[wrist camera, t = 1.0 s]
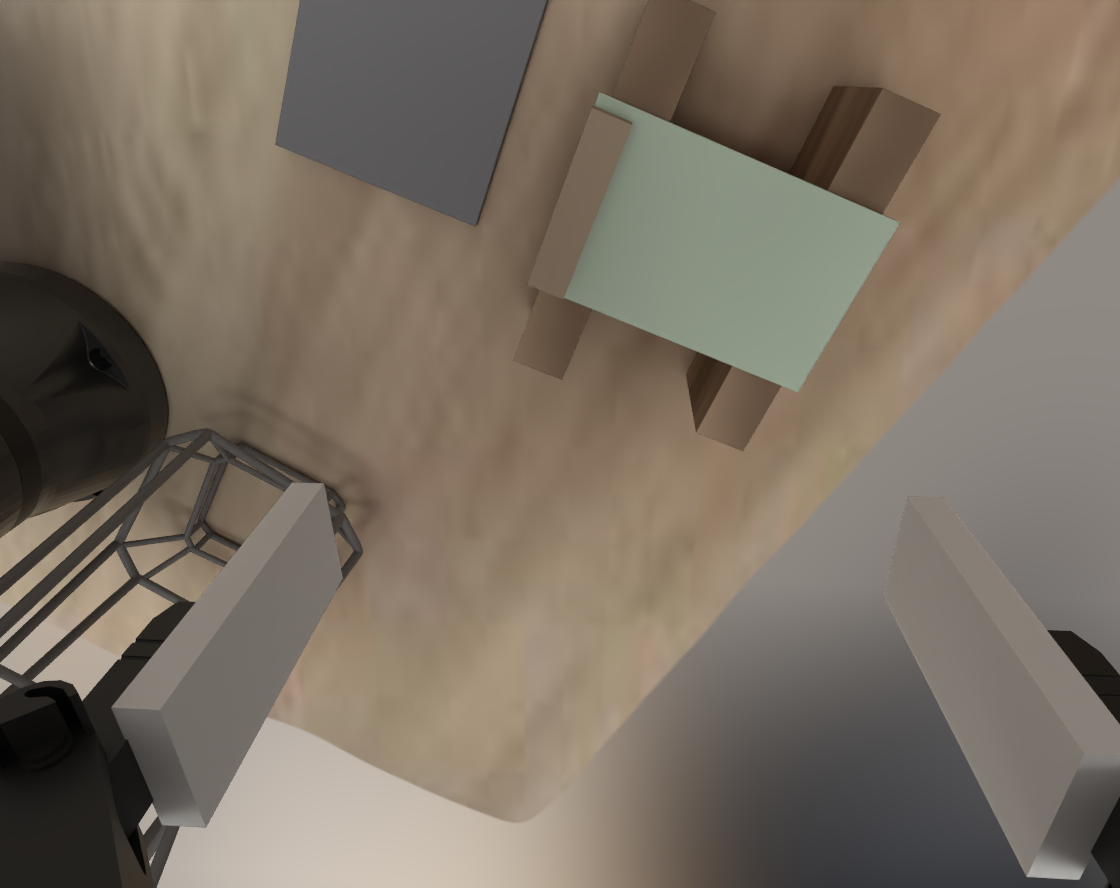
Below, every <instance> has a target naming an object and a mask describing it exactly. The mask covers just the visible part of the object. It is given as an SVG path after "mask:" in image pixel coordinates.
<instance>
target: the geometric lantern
mask: <svg viewBox="0 0 1120 888" xmlns="http://www.w3.org/2000/svg"><path fill="white" fill-rule="evenodd" d="M193 440H194V441H193ZM209 440H210V442H211V443H212V444H213V445H214V447H215V448H216V449H217V450H218V451H219V453H220V455H218V456H217V457H216V458H212V457H209V456H206V455H203V454H200V453H197V451H198V450H199V449H200V448H201V447H202V446H203V445H205V444H206V443H207V442H208V441H209ZM189 441H193V442H192V443H191V444H190V445H189V446H188V447H187V448H186V449H185V448H182V447H179V446H176V445H177V444H181V443H185V442H189ZM225 449H226V450H225ZM169 450H171V451H174V452H177V453H180V454H179V455H178V456H177V457H176V458H175V459H174V460H172V461H171V462H170V463H169V464H168V465H167V466H166V467H165V468H164V469H163V470H162V471H160V469H161V467H162V465H163V463H164V461H165V459H166V456H167V454H168V452H169ZM236 456H237V457H238V458H240V459H241V460H243V461H245V462H246V463H248V464H249V465H251V466H253V467H254V468H256V469H257V470H259V471H260V472H259V471H257V470H255V469H253V468H251V467H249V466H247V465H245V464H243V463H241V462H240V461H238V460H236V459H234V458H235V457H236ZM254 456H255V457H254ZM191 457H193V458H196V459H199V460H202V461H205V462H208V463H210V466H209V469H208V471H207V474H206V477H205V479H204V482H203V485H202V487H201V490H200V493H199V496H198V498H197V501H196V504H195V506H194V509H193V512H192V514H191V517H190V520H189V523H188V525H187V528H186V531H185V533H184V534H180V535H172V536H165V537H158V538H150V539H143V540H136V541H129V542H124V541H125V539H126V537H127V535H128V533H129V531H130V529H131V527H132V525H133V523H134V521H135V519H136V517H137V515H138V513H139V511H140V509H141V507H142V505H143V503H144V501H145V500H146V499H148V498H149V497H150V496H151V495H152V494H153V493H154V492H155V491H156V490H157V489H158V488H159V487H160V486H161V485H162V484H163V483H164V482H165V481H166V480H168V479H169V478H170V477H171V476H172V475H173V474H174V473H175V472H176V471H177V470H178V469H179V468H180V467H181V466H182V465H183V464H184V463H185V462H186V461H188V460H189V459H190V458H191ZM256 457H257V458H258V459H257V458H256ZM259 459H260V460H259ZM261 460H262V461H264V462H266V463H268V464H270V465H272V466H274V467H276V468H278V469H280V470H282V471H284V472H286V473H287V474H289V475H291V476H293V477H295V478H297V479H299V480H301V481H303V482H305V483H317V482H315V481H313V480H311V479H309V478H307V477H306V476H304V475H302V474H300V473H298V472H296V471H294V470H292V469H290V468H288V467H286V466H284V465H282V464H280V463H279V462H277V461H275V460H273V459H271V458H269V457H267V456H265V455H263V454H261V453H259V452H257V451H255V450H254V449H252V448H250V447H248V446H246V445H244V444H239V445H235V444H234V443H232V442H231V441H229V440H227V439H226V438H224V437H223V436H221V435H219V434H218V433H216V432H215V431H213V430H211V429H207V428H206V429H199V430H195V431H191V432H187V433H183V434H179V435H175V436H171V437H168V438H166V439H164V440H163V441H162V442H161V443H159V444H158V445H157V446H156V447H155V448H154V449H153V450H151V451H150V452H149V453H148V454H147V455H146V456H144V457H143V458H142V459H141V460H140V461H139V462H137V463H136V464H135V465H134V466H133V467H132V468H130V469H129V470H128V471H127V472H126V473H124V474H123V475H122V476H121V477H120V478H119V479H117V480H116V481H115V482H114V483H113V484H111V485H110V486H109V487H108V488H107V489H105V490H104V491H103V492H102V493H101V494H100V495H98V496H97V497H96V498H95V499H94V500H92V501H91V502H90V503H89V504H88V505H86V506H85V507H84V508H83V509H82V510H81V511H79V512H78V513H77V514H76V515H75V516H73V517H72V518H71V519H70V520H69V521H67V522H66V523H65V524H64V525H63V526H61V527H60V528H59V529H58V530H57V531H56V532H54V533H53V534H52V535H51V536H50V537H48V538H47V539H46V540H45V541H44V542H42V543H41V544H40V545H39V546H38V547H37V548H35V549H34V550H33V551H32V552H31V553H29V554H28V555H27V556H26V557H25V558H23V559H22V560H21V561H20V562H19V563H18V564H16V565H15V566H14V567H13V568H12V569H10V570H9V571H8V572H7V573H6V574H4V575H3V576H2V577H1V578H0V596H1V595H2V594H3V593H4V592H5V591H6V590H8V589H9V588H10V587H11V586H12V585H13V584H15V583H16V582H17V581H18V580H19V579H20V578H21V577H23V576H24V575H25V574H26V573H27V572H28V571H29V570H31V569H32V568H33V567H34V566H35V565H36V564H37V563H39V562H40V561H41V560H42V559H43V558H44V557H45V556H47V555H48V554H49V553H50V552H51V551H52V550H53V549H55V548H56V547H57V546H58V545H59V544H60V543H62V542H63V541H64V540H65V539H66V538H67V537H68V536H70V535H71V534H72V533H73V532H74V531H75V530H76V529H78V528H79V527H80V526H81V525H82V524H83V523H84V522H86V521H87V520H88V519H89V518H90V517H91V516H92V515H94V514H95V513H96V512H97V511H98V510H99V509H100V508H102V507H103V506H104V505H105V504H106V503H107V502H109V501H110V500H111V499H112V498H113V497H114V496H115V495H117V494H118V493H119V492H120V491H121V490H122V489H123V488H125V487H126V486H127V485H128V484H129V483H130V482H131V481H133V480H134V479H135V478H136V477H137V476H138V475H139V474H141V473H142V472H143V471H144V470H145V469H146V468H147V467H149V466H150V465H151V466H150V468H149V470H148V472H147V474H146V476H145V478H144V481H143V483H142V485H141V487H140V489H139V491H138V493H137V494H135V495H134V496H133V497H132V498H131V499H130V500H129V501H128V502H127V503H126V504H125V505H123V506H122V507H121V508H120V509H119V510H118V511H117V512H116V513H115V514H114V515H113V516H111V517H110V518H109V519H108V520H107V521H106V522H105V523H104V524H103V525H102V526H101V527H99V528H98V529H97V530H96V531H95V532H94V533H93V534H92V535H91V536H90V537H89V538H87V539H86V540H85V541H84V542H83V543H82V544H81V545H80V546H79V547H78V548H77V549H75V550H74V551H73V552H72V553H71V554H70V555H69V556H68V557H67V558H66V559H65V560H64V561H62V562H61V563H60V564H59V565H58V566H57V567H56V568H55V569H54V570H53V571H52V572H50V573H49V574H48V575H47V576H46V577H45V578H44V579H43V580H42V581H41V582H40V583H38V584H37V585H36V586H35V587H34V588H33V589H32V590H31V591H30V592H29V593H28V594H26V595H25V596H24V597H23V598H22V599H21V600H20V601H19V602H18V603H17V604H16V605H15V606H14V607H12V608H11V609H10V610H9V611H8V612H7V613H6V614H5V615H4V616H3V617H2V618H1V619H0V638H1V637H2V636H3V635H4V634H5V633H6V632H7V631H8V630H9V629H10V628H11V627H13V626H14V625H15V624H16V623H17V622H18V621H19V620H20V619H21V618H22V617H23V616H24V615H25V614H26V613H28V612H29V611H30V610H31V609H32V608H33V607H34V606H35V605H36V604H37V603H38V602H39V601H40V600H41V599H42V598H43V597H44V596H46V595H47V594H48V593H49V592H50V591H51V590H52V589H53V588H54V587H55V586H56V585H57V584H58V583H59V582H60V581H61V580H62V579H63V578H64V577H65V576H67V575H68V574H69V573H70V572H71V571H72V570H73V569H74V568H75V567H76V566H77V565H78V564H79V563H80V562H81V561H82V560H83V559H84V558H85V557H87V556H88V555H89V554H90V553H91V552H92V551H93V550H94V549H95V548H96V547H97V546H98V545H99V544H100V543H101V542H102V541H103V540H104V539H105V538H107V537H108V536H109V535H110V534H111V533H112V532H113V531H114V530H115V529H116V528H117V527H118V526H119V525H120V524H121V523H122V522H123V521H124V522H123V524H122V526H121V528H120V530H119V532H118V534H117V536H116V538H115V540H114V541H113V542H111V543H110V544H109V545H108V546H107V547H106V548H105V549H104V550H103V551H102V552H101V553H100V554H99V555H98V556H96V557H95V558H94V559H93V560H92V561H91V562H90V563H89V564H88V565H87V566H86V567H85V568H84V569H83V570H82V571H81V572H79V573H78V574H77V575H76V576H75V577H74V578H73V579H72V580H71V581H70V582H69V583H68V584H67V585H66V586H65V587H64V588H62V589H61V590H60V591H59V592H58V593H57V594H56V595H55V596H54V597H53V598H52V599H51V600H50V601H49V602H48V603H47V604H46V605H44V606H43V607H42V608H41V609H40V610H39V611H38V612H37V613H36V614H35V615H34V616H33V617H32V618H31V619H30V620H29V621H28V622H26V623H25V624H24V625H23V626H22V627H21V628H20V629H19V630H18V631H17V632H16V633H15V634H14V635H13V636H12V637H11V638H10V639H8V640H7V641H6V642H5V643H4V644H3V645H2V646H1V647H0V662H1V661H2V660H3V659H4V658H5V657H6V656H7V655H8V654H10V653H11V651H13V650H14V649H15V648H16V647H17V646H18V645H19V644H20V643H21V642H22V641H23V640H24V639H25V638H26V637H27V636H28V635H29V634H30V633H31V632H32V631H33V630H34V629H35V628H36V627H37V626H38V625H39V624H40V623H41V622H42V621H44V620H45V619H46V618H47V617H48V616H49V615H50V614H51V613H52V612H53V611H54V610H55V609H56V608H57V607H58V606H59V605H60V604H61V603H62V602H63V601H64V600H65V599H66V598H67V597H68V596H69V595H70V594H71V593H72V592H73V591H74V590H75V589H76V588H78V587H79V586H80V585H81V584H82V583H83V582H84V581H85V580H86V579H87V578H88V577H89V576H90V575H91V574H92V573H93V572H94V571H95V570H96V569H97V568H98V567H99V566H100V565H101V564H102V563H103V562H104V561H106V560H107V559H108V558H109V557H110V556H111V555H112V554H113V553H114V552H115V551H116V550H117V553H118V555H119V557H120V559H121V561H122V563H123V565H124V567H125V569H126V571H127V572H128V574H129V576H130V578H131V579H130V580H128V581H127V582H126V583H125V584H124V585H123V586H121V587H120V588H119V589H118V590H117V591H116V592H115V593H113V594H112V595H111V596H110V597H109V598H108V599H107V600H105V601H104V602H103V603H102V604H101V605H100V606H99V607H98V608H96V609H95V610H94V611H93V612H92V613H91V614H90V615H89V616H87V617H86V618H85V619H84V620H83V621H82V622H81V623H80V624H79V625H77V626H76V627H75V628H74V629H73V630H72V631H71V632H70V633H68V634H67V635H66V636H65V637H64V638H63V639H62V640H61V641H60V642H58V643H57V644H56V645H55V646H54V647H53V648H52V649H51V650H50V651H48V652H47V653H46V654H45V655H44V656H43V657H42V658H41V659H39V660H38V661H37V662H36V663H35V664H34V665H33V666H32V667H31V668H29V669H28V670H27V671H26V672H25V673H24V674H23V675H20V674H18V673H16V672H14V671H12V670H10V669H8V668H6V667H5V666H3V665H1V664H0V678H2V679H4V680H6V681H8V682H10V683H12V685H10V686H9V687H8V688H7V689H6V690H5V691H4V692H3V693H2V694H0V700H1V699H2V698H3V697H5V696H6V695H9V694H11V693H13V692H15V691H17V690H19V689H21V688H23V687H25V686H29V685H32V684H36V682H33V681H32V680H33V679H34V678H35V677H36V676H37V675H38V674H39V673H40V672H42V671H43V670H44V669H45V668H46V667H47V666H48V665H49V664H50V663H51V662H52V661H53V660H54V659H56V658H57V657H58V656H59V655H60V654H61V653H62V652H63V651H64V650H65V649H67V648H68V647H69V646H70V645H71V644H72V643H73V642H74V641H75V640H76V639H77V638H78V637H80V636H81V635H82V634H83V633H84V632H85V631H86V630H87V629H88V628H89V627H90V626H92V625H93V624H94V623H95V622H96V621H97V620H98V619H99V618H100V617H101V616H102V615H103V614H105V613H106V612H107V611H108V610H109V609H110V608H111V607H112V606H113V605H114V604H116V603H117V602H118V601H119V600H120V599H121V598H122V597H123V596H125V595H126V594H127V593H128V592H129V591H130V590H131V589H132V588H133V587H135V586H136V585H137V584H140V585H142V586H143V587H145V588H147V589H149V590H151V591H153V592H154V593H156V594H158V595H160V596H162V597H164V598H165V599H167V600H169V601H171V602H173V603H177V602H178V601H182V602H189V601H188V600H186V599H184V598H182V597H180V596H179V595H177V594H175V593H173V592H171V591H169V590H168V589H166V588H164V587H162V586H160V585H159V584H157V583H155V582H153V581H151V580H149V578H151V577H152V576H154V575H155V574H157V573H158V572H160V571H161V570H163V569H164V568H166V567H168V566H169V565H171V564H172V563H174V562H175V561H177V560H178V559H180V558H181V557H183V556H184V555H186V554H188V553H189V552H192V553H195V554H197V555H199V556H201V557H203V558H205V559H208V560H210V561H212V562H214V563H216V564H218V565H220V566H223V567H225V565H226V564H227V563H228V562H225V561H223V560H221V559H219V558H217V557H215V556H213V555H210V554H208V553H206V552H204V551H202V550H200V548H201V547H202V546H203V545H204V544H205V543H206V542H207V541H208V540H209V539H213V540H215V541H217V542H219V543H221V544H223V545H225V546H227V547H229V548H231V549H234V550H236V551H237V550H238V549H239V548H240V546H238V545H235V544H233V543H231V542H229V541H227V540H225V539H223V538H221V537H219V536H217V535H215V534H213V533H212V531H211V530H210V529H209V527H208V526H207V525H206V523H205V522H204V519H205V516H206V514H207V511H208V509H209V506H210V504H211V501H212V499H213V496H214V494H215V491H216V489H217V486H218V484H219V481H220V479H221V476H222V474H223V471H224V468H225V466H226V463H227V462H229V463H231V464H233V465H235V466H236V467H238V468H240V469H242V470H244V471H246V472H248V473H250V474H252V475H254V476H256V477H258V478H259V479H261V480H263V481H265V482H267V483H269V484H271V485H273V486H275V487H277V488H279V489H281V490H283V491H284V492H285V491H286V489H287V488H288V487H289V486H290V485H291V483H295V482H294V481H292V480H291V479H289V478H287V477H286V476H284V475H283V474H281V473H280V472H278V471H276V470H275V469H273V468H272V467H270V466H268V465H267V464H265V463H264V462H262V461H261ZM218 463H220V465H219V468H218V470H217V473H216V475H215V478H214V480H213V483H212V486H211V488H210V491H209V493H208V496H207V498H206V501H205V503H204V506H203V509H202V511H201V514H200V516H199V519H198V522H197V523H196V524H195V521H196V518H197V516H198V513H199V510H200V508H201V505H202V502H203V500H204V497H205V494H206V492H207V489H208V486H209V484H210V481H211V479H212V476H213V473H214V471H215V468H216V465H217V464H218ZM159 471H160V472H159ZM261 472H262V473H261ZM263 473H264V474H265V475H264V474H263ZM266 475H267V476H266ZM325 491H326V494H327V495H326V496H327V501H328V506H329V511H330V516H331V521H332V526H333V531H334V535H335V534H336V532H337V531H338V533H339V534H340V535H341V536H342V537H343V538H344V539H345V540H346V541H347V542H348V543H349V544H350V546H351V547H352V548H353V551H354V552H353V553H352V555H351V556H350V558H349V559H348V560H347V562H346V563H345V564H344V565H343V567H342V568H341V571H342V576H343V579H342V581H341V583H342V582H343V581H344V579H345V578H346V577H347V575H348V574H349V572H350V571H351V570H352V568H353V567H354V566H355V564H356V563H357V561H358V560H359V559H360V557H361V556H362V553H363V549H362V546H361V544H360V541H359V539H358V537H357V536H356V534H355V532H354V530H353V528H352V526H351V524H350V522H349V520H348V518H347V517H346V515H345V514H344V513H343V512H344V508H345V505H344V504H343V502H342V501H341V500H340V498H339V497H338V496H337V494H336V493H335V492H334V491H333V490H331V489H329V488H327V487H325ZM331 498H332V499H333V500H334V501H335V503H336V504H337V506H336V507H333V506H332V505H330V504H329V501H330V500H331ZM194 524H195V525H194ZM341 526H342V527H341ZM200 527H201V528H202V529H203V530H204V531H205V533H206V535H205V536H204V537H203V538H202V539H201V540H200V541H199V542H198V543H197V544H196V545H195V546H194V545H193V542H192V540H191V538H190V536H191V535H192V534H193V533H194V532H196V531H197V530H198V529H199V528H200ZM183 539H185V541H186V544H187V546H188V547H187V548H185V549H184V550H182V551H180V552H179V553H177V554H176V555H174V556H173V557H171V558H170V559H168V560H166V561H165V562H163V563H162V564H160V565H159V566H157V567H156V568H154V569H153V570H151V571H149V572H148V573H146V574H145V575H143V576H142V575H140V574H139V572H138V571H137V569H136V567H135V565H134V563H133V561H132V559H131V557H130V555H129V553H128V551H127V549H126V548H127V547H134V546H141V545H148V544H155V543H162V542H169V541H176V540H183ZM341 583H340V584H339V586H340V585H341ZM339 586H338V588H339ZM338 588H337V589H338ZM179 827H180V826H168V825H162V824H161V821H160V819H159V817H157V818H156V819H155V821H154V822H153V823H152V825H151V826H150V827H149V829H148V830H147V831H146V833H145V834H144V835H143V836H144V841H145V845H146V850H147V855H148V860H150V859H151V857H152V856H153V854H154V853H155V852H156V853H155V856H154V859H153V861H152V864H151V866H150V869H151V874H152V878H153V883H154V888H156V887H157V885H158V882H159V880H160V877H161V874H162V872H163V869H164V866H165V864H166V861H167V859H168V856H169V853H170V851H171V848H172V845H173V843H174V840H175V837H176V835H177V832H178V830H179ZM156 850H157V851H156Z"/></svg>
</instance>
